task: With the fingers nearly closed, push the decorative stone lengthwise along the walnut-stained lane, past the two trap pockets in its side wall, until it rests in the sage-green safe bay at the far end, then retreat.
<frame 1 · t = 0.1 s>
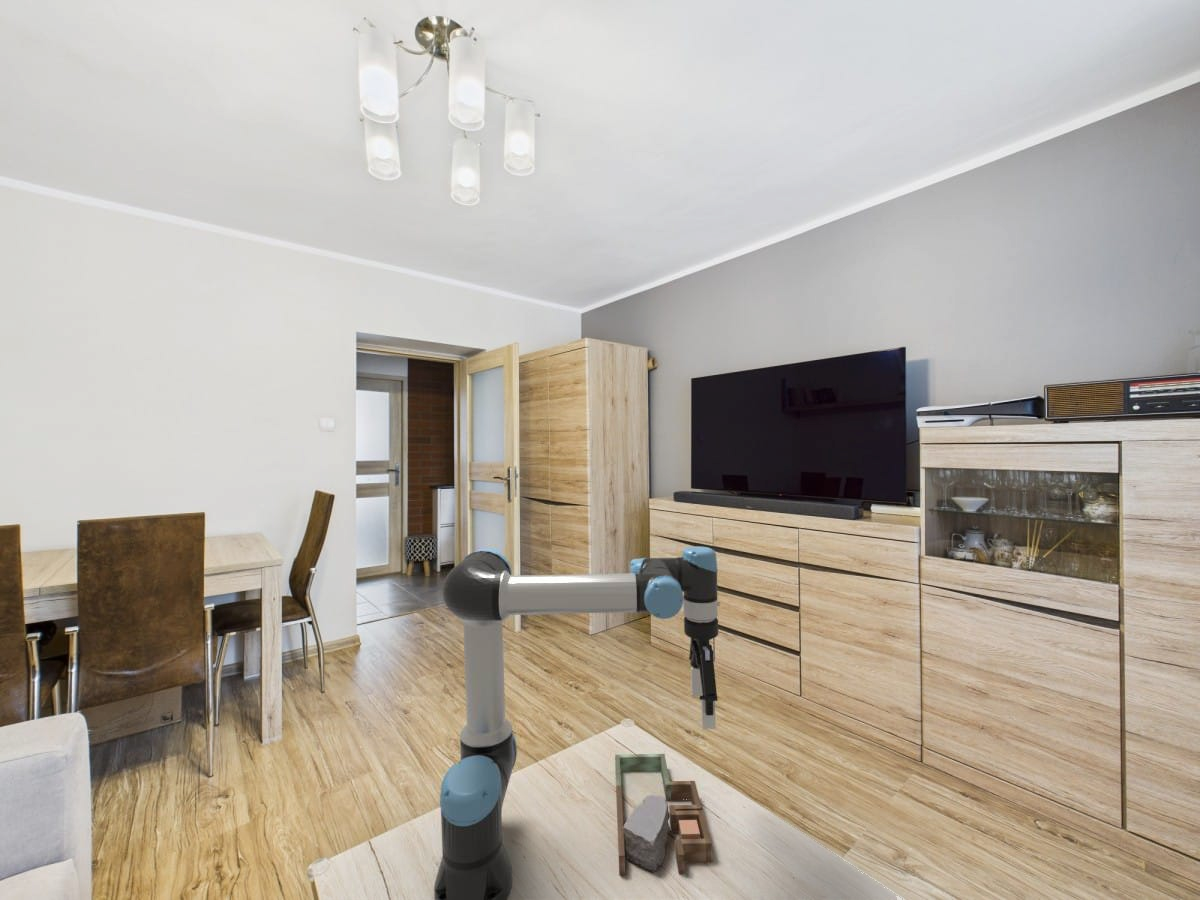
hand: (702, 710, 114), 28 cm above the table, fingers open, 13 cm apart
decorative stone: (647, 847, 111), on the table
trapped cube: (689, 844, 111), on the table
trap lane: (645, 816, 120), on the table
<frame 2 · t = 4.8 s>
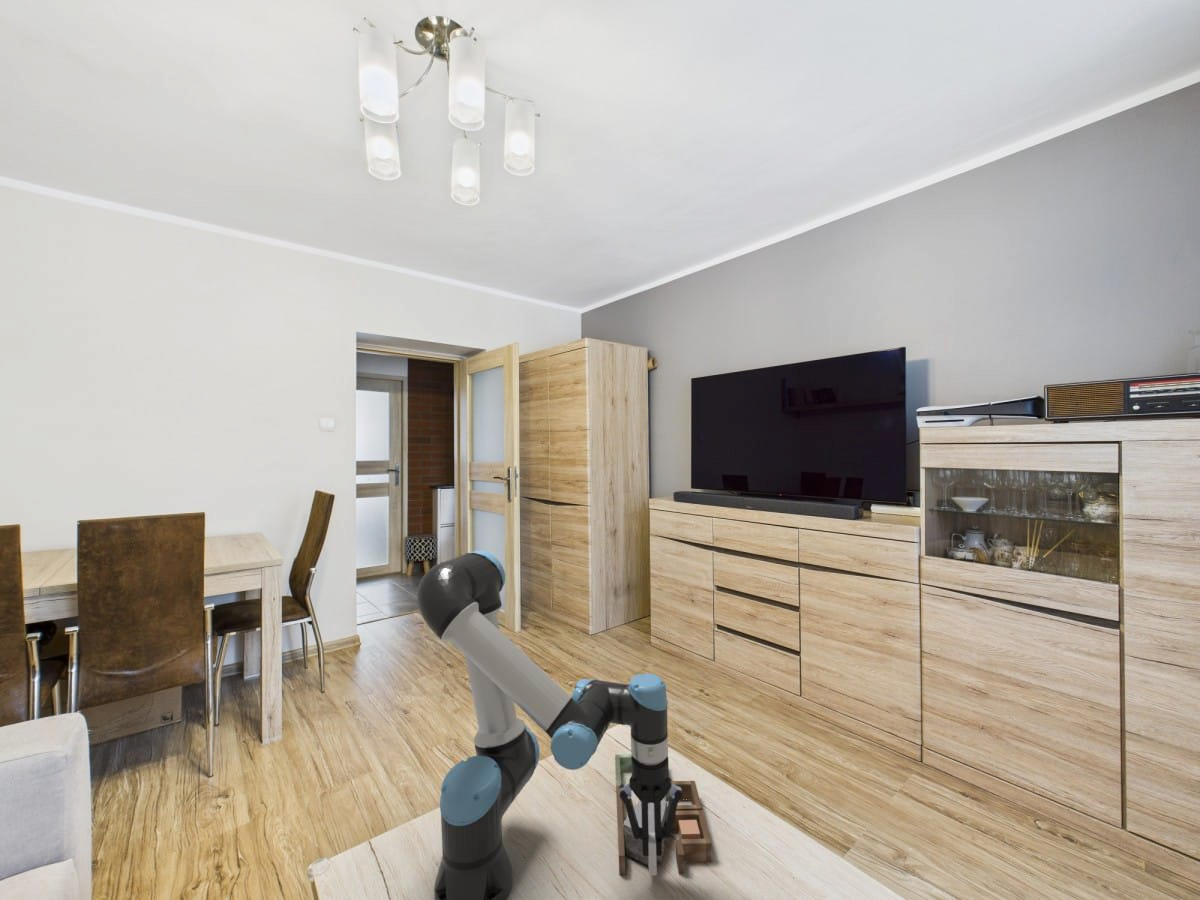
hand: (652, 869, 103), 2 cm above the table, fingers closed
nothing on the table moved.
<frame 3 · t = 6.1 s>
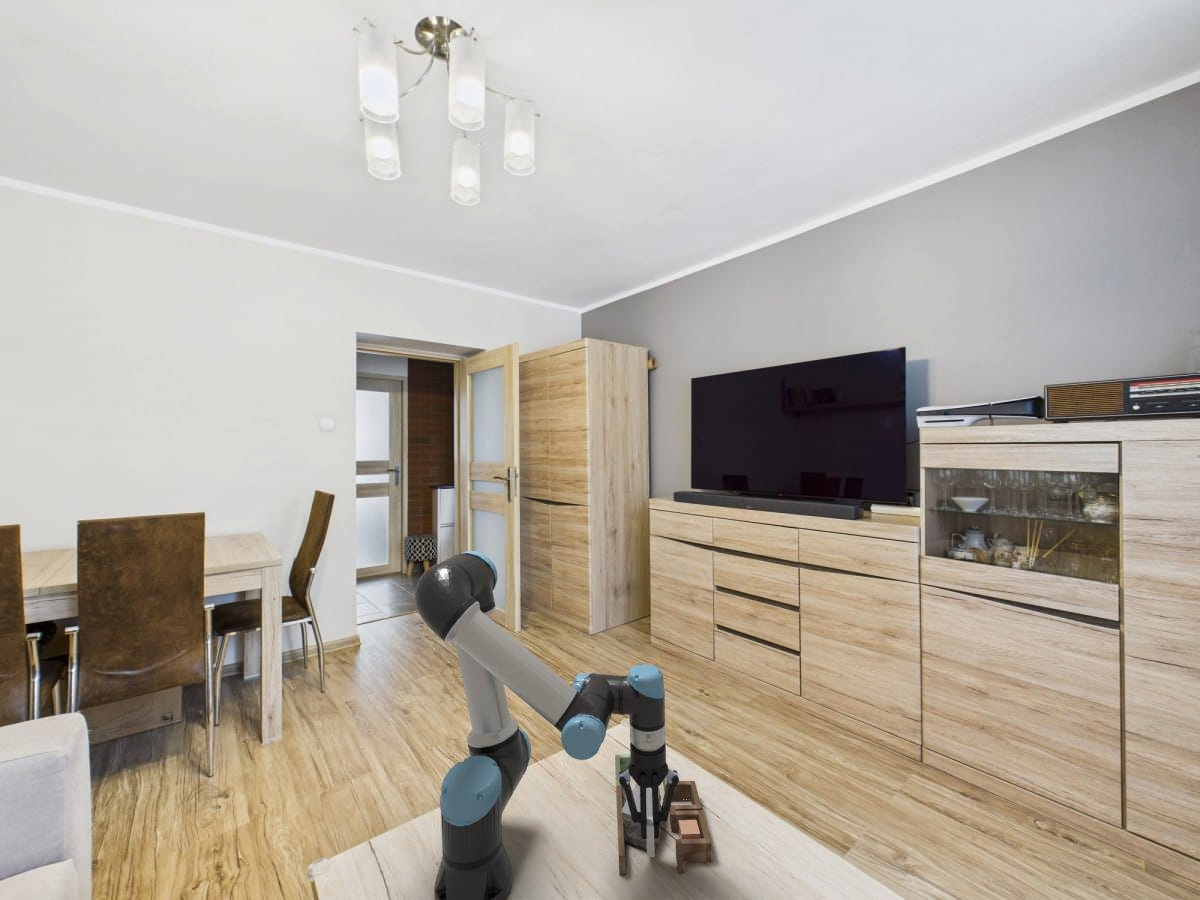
hand: (650, 851, 107), 2 cm above the table, fingers closed
decorative stone: (642, 829, 116), on the table, touching gripper
everything else where it was.
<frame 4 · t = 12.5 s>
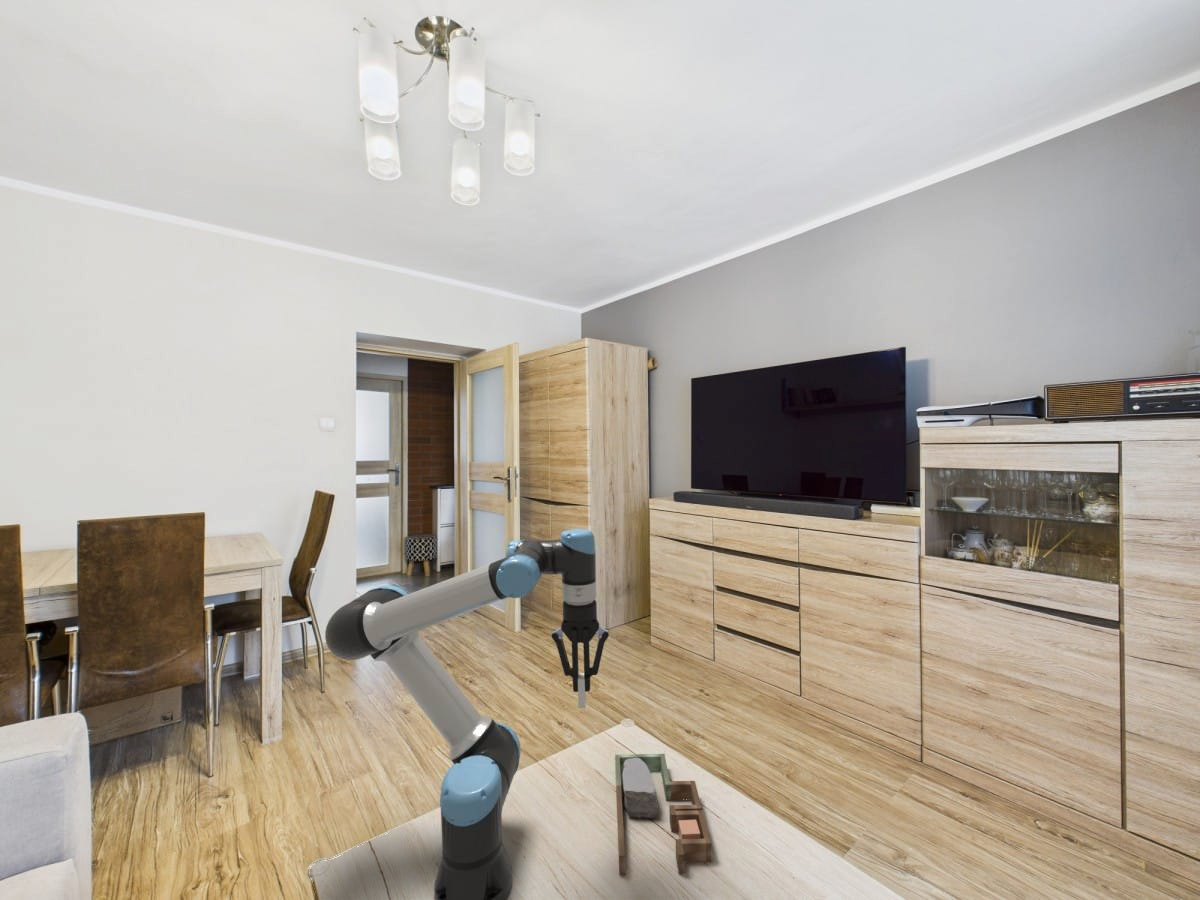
hand: (582, 705, 113), 30 cm above the table, fingers closed
decorative stone: (637, 803, 124), on the table
everything else where it was.
at the end: decorative stone inside the target area (2.7 cm from its centre), on the table; decorative stone moved 13.4 cm from its start; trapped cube moved 0.1 cm from its start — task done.
